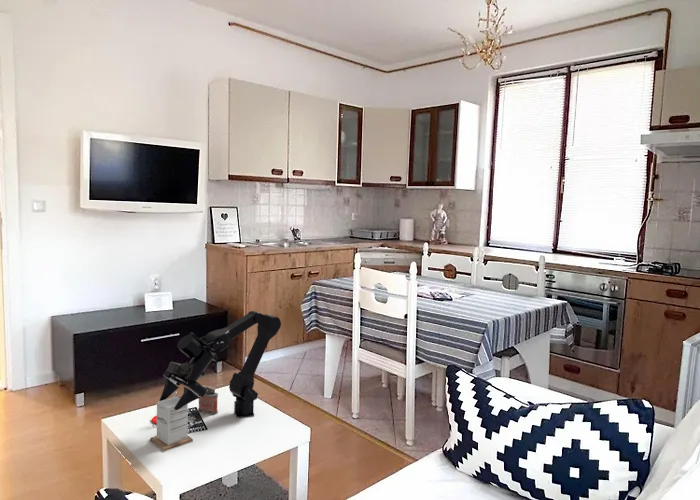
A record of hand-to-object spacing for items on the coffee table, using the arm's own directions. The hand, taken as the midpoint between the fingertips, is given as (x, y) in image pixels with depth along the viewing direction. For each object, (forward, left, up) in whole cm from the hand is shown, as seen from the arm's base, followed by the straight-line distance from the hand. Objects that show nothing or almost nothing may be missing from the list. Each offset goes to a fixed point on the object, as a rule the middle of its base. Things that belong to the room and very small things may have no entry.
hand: (167, 405), depth 163 cm
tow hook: (+1, -18, -13) cm, 22 cm away
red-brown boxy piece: (-14, -21, -13) cm, 28 cm away
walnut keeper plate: (-1, -1, -13) cm, 13 cm away
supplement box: (-1, -1, -12) cm, 12 cm away
